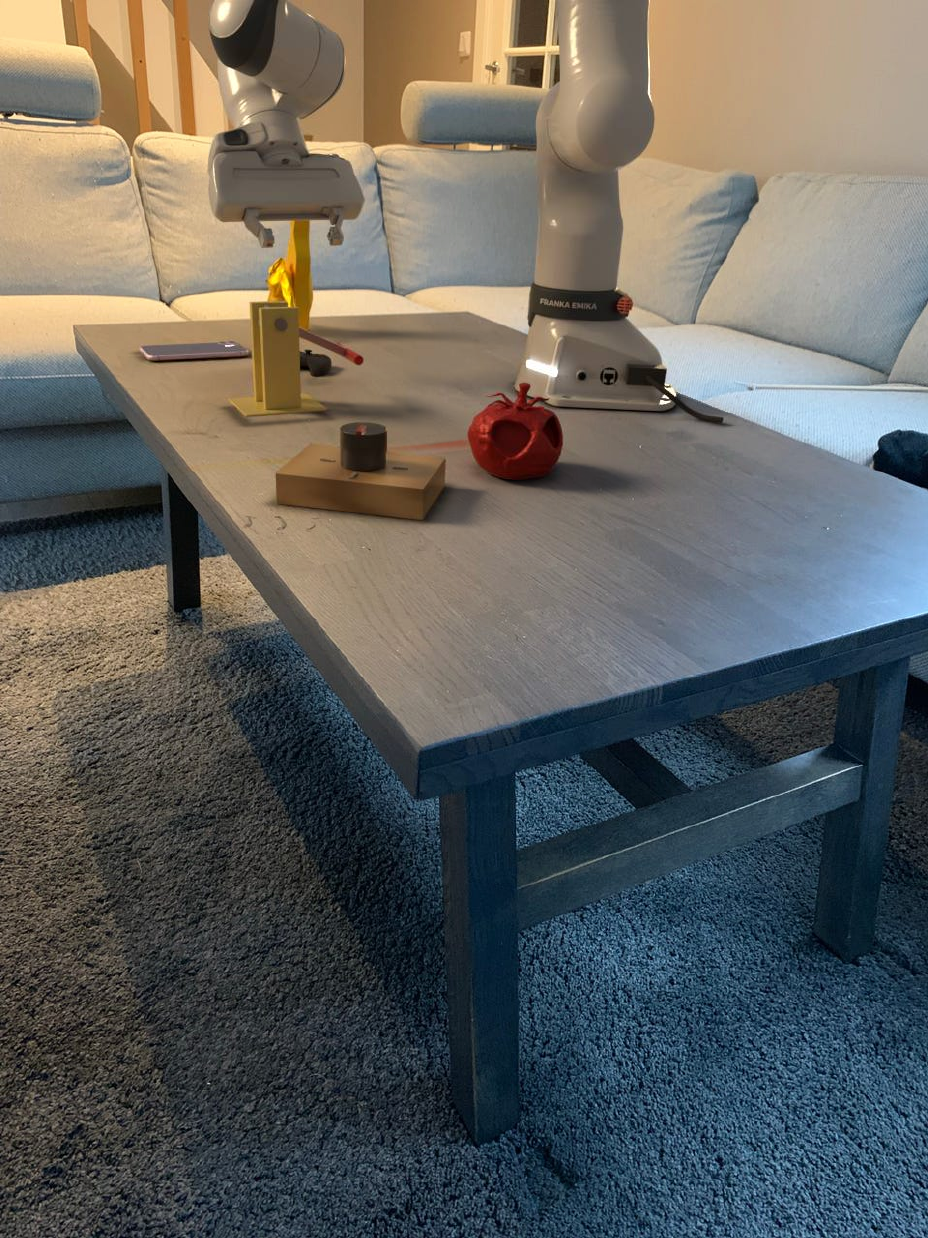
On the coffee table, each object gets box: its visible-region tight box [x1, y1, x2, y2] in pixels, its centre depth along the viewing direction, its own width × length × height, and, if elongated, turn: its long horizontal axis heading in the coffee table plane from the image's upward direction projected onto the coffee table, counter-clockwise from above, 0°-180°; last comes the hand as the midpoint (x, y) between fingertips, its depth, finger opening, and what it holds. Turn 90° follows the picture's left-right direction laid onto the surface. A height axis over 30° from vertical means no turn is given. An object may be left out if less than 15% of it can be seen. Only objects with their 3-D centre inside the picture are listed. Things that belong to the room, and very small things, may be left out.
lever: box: [258, 305, 365, 366], centre depth 116 cm, size 12×8×2 cm, turn 117°
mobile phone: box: [139, 340, 250, 362], centre depth 144 cm, size 8×1×15 cm
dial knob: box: [339, 421, 388, 471], centre depth 91 cm, size 4×4×4 cm
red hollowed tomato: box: [467, 383, 564, 481], centre depth 100 cm, size 10×10×9 cm
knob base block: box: [275, 442, 447, 521], centre depth 93 cm, size 14×10×3 cm
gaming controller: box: [300, 349, 333, 378], centre depth 136 cm, size 10×5×6 cm
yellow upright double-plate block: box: [228, 300, 328, 418], centre depth 115 cm, size 10×8×13 cm
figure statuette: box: [265, 220, 314, 331], centre depth 159 cm, size 18×8×22 cm, turn 23°
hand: (303, 243), depth 124 cm, fingers open, 8 cm apart
